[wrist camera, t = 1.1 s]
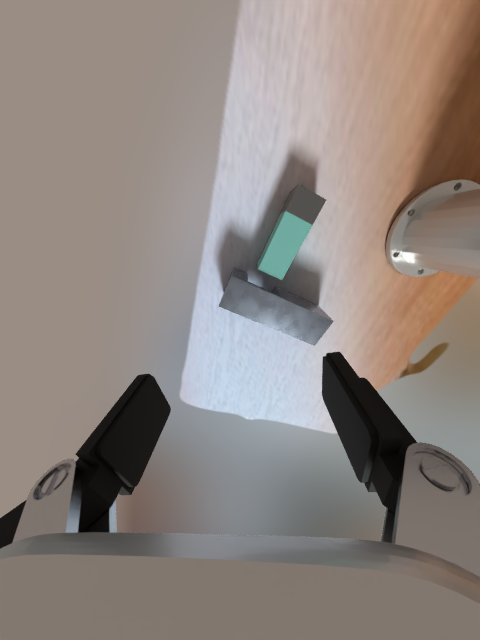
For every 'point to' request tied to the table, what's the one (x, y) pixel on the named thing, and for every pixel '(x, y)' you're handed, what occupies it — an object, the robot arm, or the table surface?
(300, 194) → the plug
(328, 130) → the table surface
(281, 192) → the table surface
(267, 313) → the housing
